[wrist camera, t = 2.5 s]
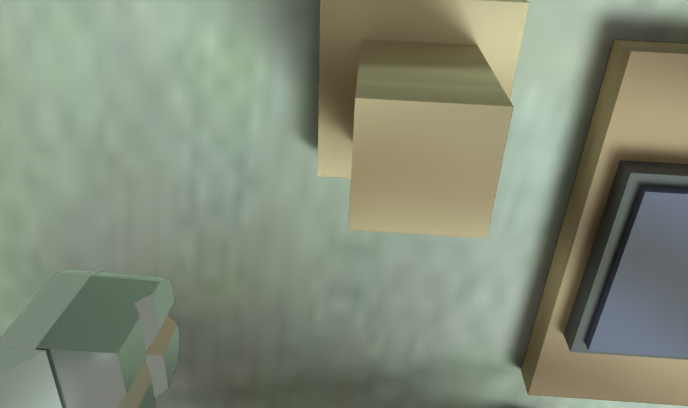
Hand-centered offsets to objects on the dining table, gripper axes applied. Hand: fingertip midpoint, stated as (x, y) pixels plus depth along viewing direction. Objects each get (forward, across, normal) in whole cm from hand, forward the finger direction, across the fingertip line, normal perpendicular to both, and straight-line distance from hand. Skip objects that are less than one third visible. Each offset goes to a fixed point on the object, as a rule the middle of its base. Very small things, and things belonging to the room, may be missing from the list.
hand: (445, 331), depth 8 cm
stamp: (+10, 0, -1) cm, 10 cm away
